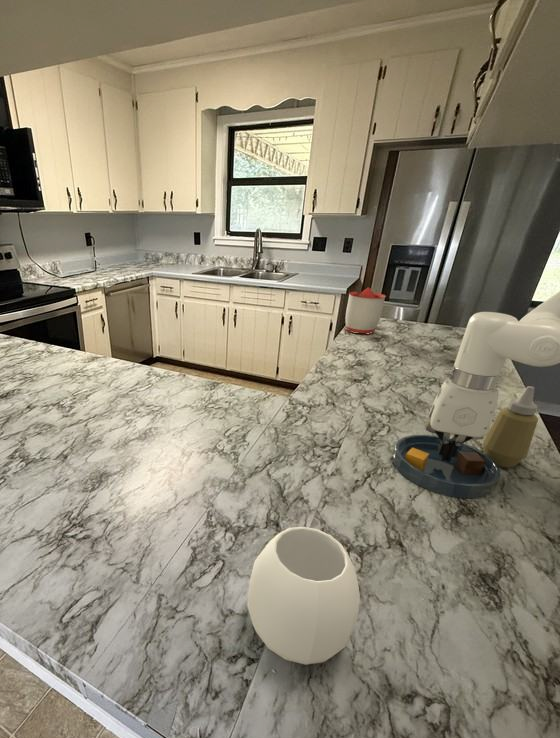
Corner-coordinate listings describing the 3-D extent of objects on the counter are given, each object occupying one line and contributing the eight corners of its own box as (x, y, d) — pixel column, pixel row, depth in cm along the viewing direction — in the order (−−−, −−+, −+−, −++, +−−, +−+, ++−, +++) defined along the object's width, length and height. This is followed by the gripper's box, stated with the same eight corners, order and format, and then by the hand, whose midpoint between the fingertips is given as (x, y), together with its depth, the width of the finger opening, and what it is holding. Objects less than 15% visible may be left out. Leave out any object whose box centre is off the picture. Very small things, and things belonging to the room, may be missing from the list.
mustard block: (424, 467, 85) (429, 453, 83) (419, 474, 83) (424, 460, 81) (408, 460, 87) (412, 447, 85) (402, 467, 85) (406, 453, 83)
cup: (333, 587, 57) (351, 516, 51) (362, 683, 46) (390, 606, 40) (242, 582, 58) (249, 511, 52) (247, 676, 46) (257, 598, 40)
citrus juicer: (370, 327, 193) (380, 284, 184) (381, 337, 178) (392, 291, 169) (338, 325, 194) (345, 283, 185) (346, 335, 179) (355, 289, 170)
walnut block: (470, 465, 86) (476, 452, 84) (479, 475, 83) (485, 461, 81) (454, 464, 86) (459, 451, 84) (462, 474, 83) (467, 460, 81)
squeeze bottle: (516, 456, 90) (549, 383, 82) (524, 475, 84) (562, 398, 75) (474, 448, 93) (503, 377, 85) (480, 465, 87) (511, 390, 78)
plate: (479, 456, 90) (484, 443, 88) (507, 510, 74) (515, 495, 72) (388, 441, 95) (392, 428, 94) (396, 487, 79) (400, 473, 77)
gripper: (433, 379, 75) (408, 460, 84) (525, 391, 71) (489, 475, 80) (427, 367, 82) (404, 443, 90) (511, 377, 77) (479, 455, 86)
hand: (444, 457), depth 85 cm, fingers closed
